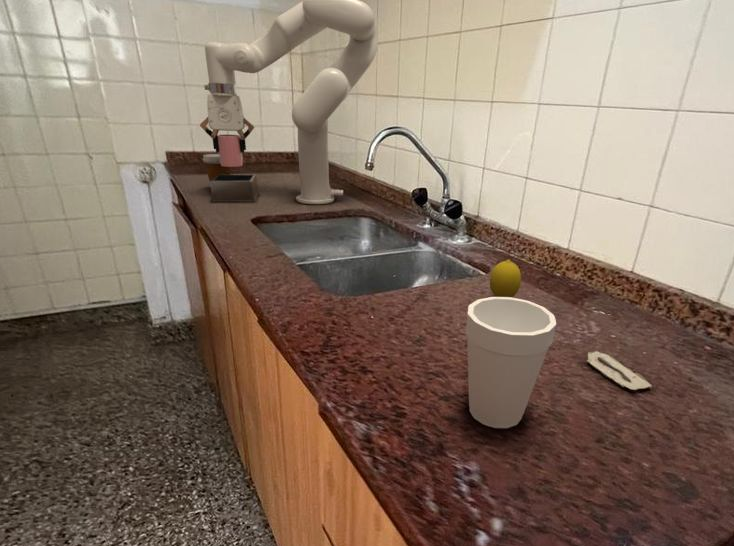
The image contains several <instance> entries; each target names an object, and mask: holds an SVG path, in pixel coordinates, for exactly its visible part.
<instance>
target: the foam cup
mask: <svg viewBox="0 0 734 546" xmlns="http://www.w3.org/2000/svg"><path fill="white" fill-rule="evenodd" d="M465 323H466V324H465V334H466V341H467V347H466V348H467V379H468V380H467V381H468V407H469V413H470V414H471V416H472V417H473V419H475V420H476V421H477V422H479V423H480V424H481V425H484V426H487V427H491V428H493V429H509V428H512V427H515V426H517V425H518V424H519V423H520V421H521V420H522V419H523V416H524V415H525V411H526V409H527V406H528V404H529V401H530V398H531V396H532V393H533V390H534V387H535V386H536V382H537V380H538V377H539V374H540V371H541V369H542V367H543V364H544V361H545V358H546V356H547V353H548V350H549V348H550V347H551V346H552V344H553V342H554V337H555V332H556V328H557V320H556V317H555V314H554V313H552V312H551V311H550V310H548V309H547V308H546V307H544V306H542V305H540V304H537V303H536V302H533V301H530V300H526V299H521V298H516V297H496V296H490V297H489V296H488V297H485V298H480V299H476V300H474V301H473V302H472V303H470V304H468V307H467V315H466V322H465Z"/></svg>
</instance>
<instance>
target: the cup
mask: <svg viewBox="0 0 734 546" xmlns="http://www.w3.org/2000/svg"><path fill="white" fill-rule="evenodd" d="M217 141H218V149H219V152H218V154H219V157H220V163H221V166H225V167H231V168H238V167H242V166H244V159H243V153H241V150H240V136H239V134H217Z"/></svg>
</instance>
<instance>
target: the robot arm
mask: <svg viewBox="0 0 734 546" xmlns="http://www.w3.org/2000/svg"><path fill="white" fill-rule="evenodd" d="M326 29H331V30H333V31H336V32H337V31H338V32H339V33H342V34H343V33H344V34H347V35H348V36H349V41H348V44H347V45H346V46H345V48H344V49H343V50H342V51H341V53H340V54H339V56H338V57H337V58H336V59H335V60H334V62H333V63H332V64H331V65H330V67H326V68H324V69H322V70H320V72H319V73H318V74H317V75H316V76H315V77H314V79H313V80H312V81H311V82H310V84H308V86H307V88H306V89H305V90H304V91H303V92H302V93H301V94H300V96H299V97H298V99H297V100H296V101H295V102H294V104H293V106H292V110H291V119H292V121H293V123H294V126H296V128H297V150H298V151H297V152H298V153H297V154H298V169H299V171H298V172H299V185H300V186H299V188H300V194H298V195H297V196H296V199H295V200H296V202H298V203H301V204H305V205H325V204H330V203H333V202H335V196H336V197H337V196H338V197H343V196H344V189H338V188H337V189H334V188H331V185H330V169H329V168H330V167H329V165H330V164H329V118H330V117H331V116H332V115H333V113H334V112H335V111H336V110H337V109H338V107H339V106H340V105H341V104H342V103H343V102H344V101H345V100H346V99H347V97H348V96H349V94H350V92H351V91H352V90H353V88H354V87H355V86H356V85H357V84H358V82H359V81H360V79H361V78H362V77H363V76H364V75H365V73H366V72H367V70H368V69H369V68H370V66H371V65H372V63H373V62H374V59H375V56H376V54H377V51H378V43H379V41H378V40H379V39H378V31H377V27H376V23H375V15H374V12H373V10H372V8H371V7H370V5H368V4H367V3H365V2H364V1H362V0H302V1H300V2H299V3H298V4H296V5H294V6H293V7H290V9H288V10H286V11H285V12H283V13H282V14H280V15H278V16H277V17H276V18H275V19H274V21H273V23H272V25H271V27H270V28H269V29H268V31H267V32H266V33H264V34H263V35H261V36H260V37H259V38H257V39H255V40H254V41H252V42H251V43H246V42H233V43H226V42H219V41H209V42H206V43H205V44H204V52H205V59H206V69H207V76H208V84H204V91H208V92H209V93H210V94H207V99H206V100H207V101H206V103H207V105H206V106H207V117H206V118H205V119H204V120H203V121H202V122H201V123H200V124H199V126H200V128H201V129H202V130H203V131H204V132H205V133H206V134H207V135H208V136H209V137H210V138H211V140H212V145H213V150H215V153H219V149H218V141H217V135H219V132H220V131H225V132H227V131H228V132H237V135H239V136H240V150H241V153H242V154H244V153H245V151H246V150H247V146H246V139H247V137H249V135H250V134H251V133H252V132H253V130H254V129H255V125H253V124H252V123H251V122H250V121H249V120H247V119H246V117H244V110H243V104H242V101H241V97H240V95H238V92H237V91H238V90H237V84H236V74H235V71H236V72H241V73H245V74H248V73H249V74H257V73H259V72H261V71H263V70H264V69H266V68H268V67H269V66H271V65H272V64H274V63H275V62H277V61H278V60H280V59H281V58H283V57H284V56H285V55H287V54H289V53H290V52H292V51H293V50H294V49H295V48H297V47H298V46H300V45H302V44H303V43H304V42H306V41H308V40H309V39H311V38H313V37H314V36H317V35H318V34H319V33H321V32H322V31H324V30H326ZM207 125H208V126H207ZM245 126H247V129H246V131H245V132H244V131H243V130H244V129H245V128H246V127H245Z"/></svg>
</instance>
